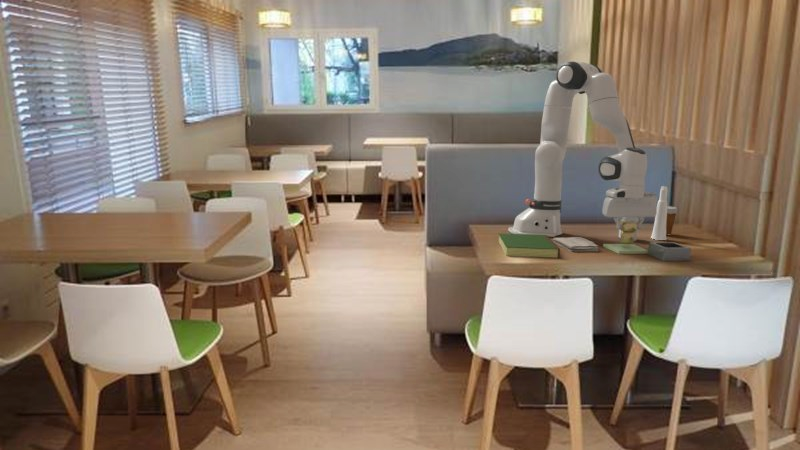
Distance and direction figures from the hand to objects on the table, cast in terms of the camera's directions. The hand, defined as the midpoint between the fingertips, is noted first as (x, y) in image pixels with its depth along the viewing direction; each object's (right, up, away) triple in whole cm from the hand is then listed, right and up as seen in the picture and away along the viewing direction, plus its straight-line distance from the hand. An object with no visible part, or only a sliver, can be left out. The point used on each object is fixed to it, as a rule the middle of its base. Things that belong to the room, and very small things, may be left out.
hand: (627, 228), depth 223 cm
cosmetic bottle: (+22, -5, +24) cm, 32 cm away
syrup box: (+8, -5, +22) cm, 23 cm away
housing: (+11, -10, -9) cm, 18 cm away
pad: (0, -8, +2) cm, 8 cm away
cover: (0, -5, +1) cm, 5 cm away
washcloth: (-18, -8, +5) cm, 21 cm away
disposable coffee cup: (+28, -3, +34) cm, 45 cm away
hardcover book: (-38, -8, -1) cm, 39 cm away
